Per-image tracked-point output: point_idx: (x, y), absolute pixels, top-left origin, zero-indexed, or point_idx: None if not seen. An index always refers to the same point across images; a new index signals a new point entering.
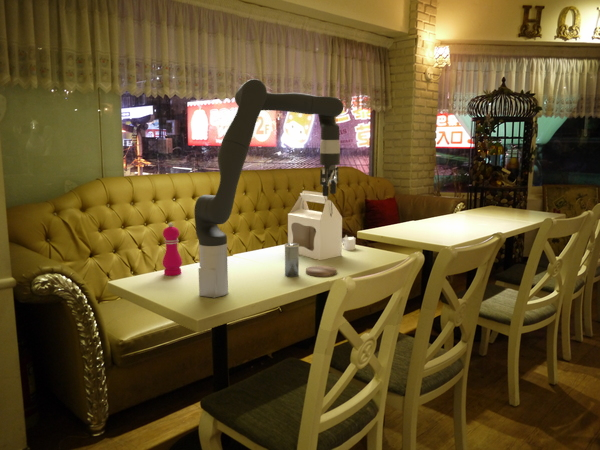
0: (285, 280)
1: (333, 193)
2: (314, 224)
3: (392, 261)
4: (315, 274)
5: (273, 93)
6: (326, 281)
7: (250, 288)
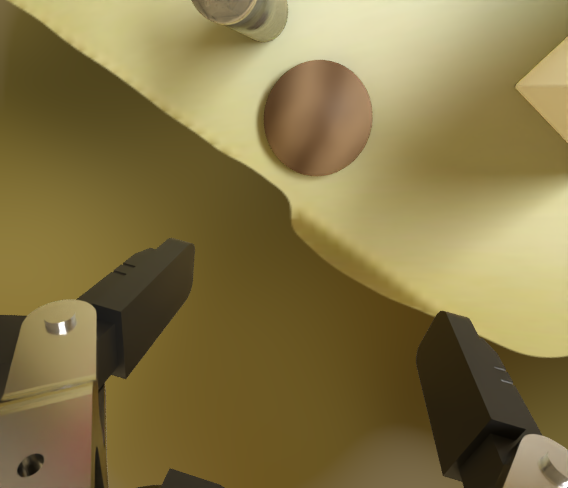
0: None
1: (425, 340)
2: None
3: None
4: (265, 109)
5: None
6: (222, 151)
7: None
